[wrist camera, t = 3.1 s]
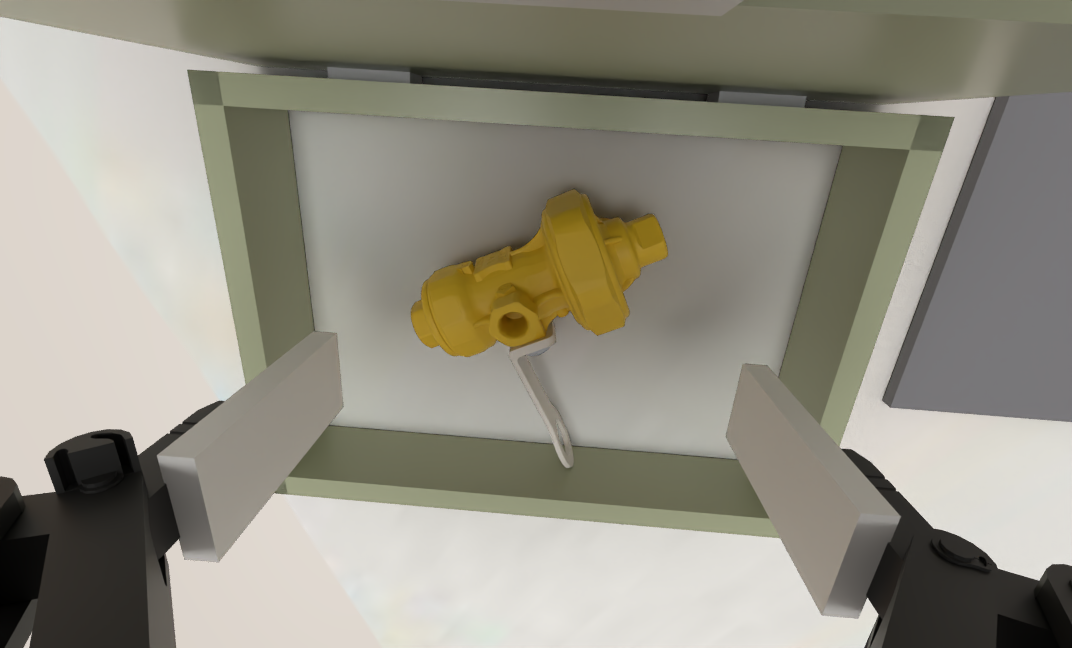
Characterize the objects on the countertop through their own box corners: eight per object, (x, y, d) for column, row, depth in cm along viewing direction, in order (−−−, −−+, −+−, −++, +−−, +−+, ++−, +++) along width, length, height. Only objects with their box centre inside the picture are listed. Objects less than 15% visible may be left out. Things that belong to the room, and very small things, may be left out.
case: (254, 40, 19) (-634, -205, 5) (889, 78, 18) (1973, -84, 4) (309, 439, 26) (4, 810, 12) (770, 479, 25) (1028, 923, 11)
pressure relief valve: (405, 246, 21) (627, 153, 19) (516, 435, 27) (696, 377, 25) (370, 308, 17) (659, 193, 15) (514, 521, 22) (736, 458, 20)
